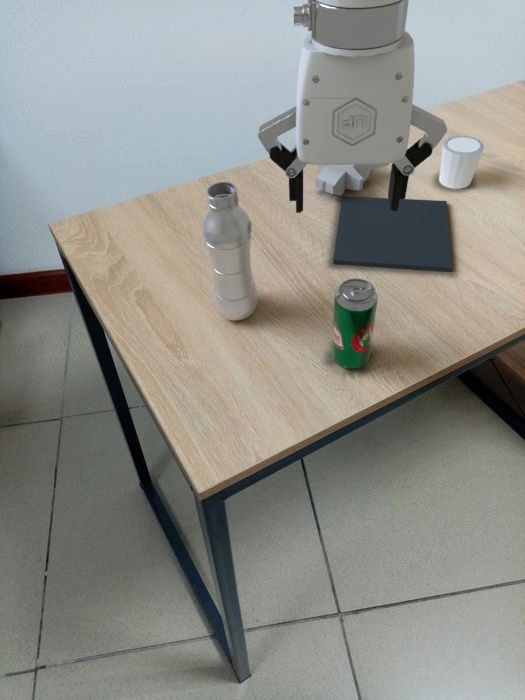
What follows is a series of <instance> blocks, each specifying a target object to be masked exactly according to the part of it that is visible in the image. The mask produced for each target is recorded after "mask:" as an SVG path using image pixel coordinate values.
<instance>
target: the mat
mask: <svg viewBox="0 0 525 700" xmlns="http://www.w3.org/2000/svg"><path fill="white" fill-rule="evenodd" d="M447 203H448V202H447V200H433V199H413V198H412V199H411V198H405V199H400V200H399V207H398V211H392V210H390V205H389V199H388V197H368V196H350V195H348V196H346V195H341V201H340V209H339V216H338V223H337V229H336V230H337V231H336V237H335V245H334V252H333V259H332V264H333V265H345V266H346V265H347V266H362V267H376V268H388V269H389V268H391V269H392V268H393V269H405V270H407V269H408V270H422V271H434V272H435V271H437V272H451V273H452V269H453V264H452V263H453V262H452V252H451V238H450V228H449V226H450V225H449V217H448V215H449V214H448V204H447Z"/></svg>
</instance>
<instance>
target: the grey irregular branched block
mask: <svg viewBox="0 0 525 700" xmlns="http://www.w3.org/2000/svg"><path fill="white" fill-rule="evenodd" d="M390 164H391V163H385V164H360V165H318V176H317V178H315V188H316V189H318V190H321V191H323V190H324V191H325V192H326V193H329V194H330V195H335V196H343V194H345V193H344V192H345V190H353V191H362V190H363V185H364V183H365V182H366V181H367V179H368V177H369V175H370V173H371V171H372V169H375V168H383V167H387V166H389V165H390Z"/></svg>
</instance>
